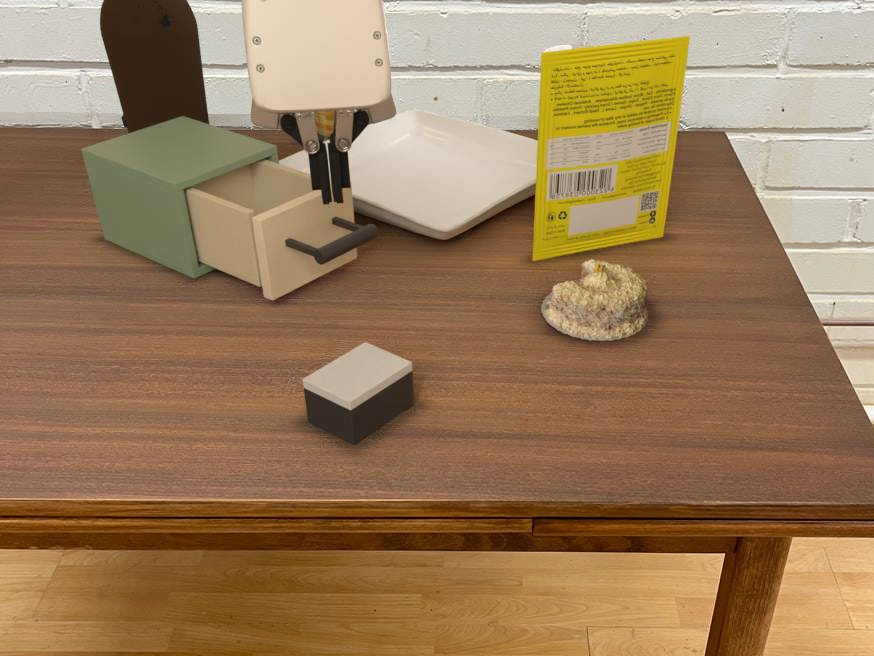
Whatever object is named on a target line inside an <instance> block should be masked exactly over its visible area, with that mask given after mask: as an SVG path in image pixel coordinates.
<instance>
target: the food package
mask: <svg viewBox="0 0 874 656" xmlns="http://www.w3.org/2000/svg"><path fill="white" fill-rule="evenodd" d="M690 40H691V37H690V36H689V35H686V36H677V37H667V38H659V39H649V40H648V39H647V40H639V41H630V42H622V43H614V44H613V43H612V44H604V45H595V46H594V47H586V48H577V49H568V50H560V51H552V52H544V51H543V52H541V55H540V79H539V81H540V82H539V99H538V100H539V104H538V123H537V125H538V127H537V141H538V146H537V169H536V192H535V195H534V196H535V197H534V219H533V220H534V221H533V239H532V240H533V241H532V257H531V258H532V262H537V261H542V260H547V259H552V258H557V257H562V256H569V255H574V254H578V253H579V254H580V253H583V252H589V251H595V250H601V249H606V248H610V247H611V248H613V247H617V246H622V245H627V244H633V243H639V242H643V241H649V240H655V239H660V238H664V233H665V226H666V220H667V211H668V205H669V197H670V190H671V182H672V174H673V167H674V160H675V152H676V146H677V137H678V132H679V131H678V130H679V123H680V115H681V108H682V100H683V91H684V84H685V79H686V72H687V64H688V55H689V47H690V46H689V45H690Z"/></svg>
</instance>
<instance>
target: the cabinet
mask: <svg viewBox="0 0 874 656" xmlns="http://www.w3.org/2000/svg"><path fill="white" fill-rule="evenodd" d="M80 150H81V154H82V159H83V163H84V165H85V166H84V167H85V169H86V173H87V178H88V181H89V185H90V190H91V193H92V196H93V201H94V205H95V208H96V212H97V217H98V220H99V224H100V228H101V232H102V235H103V240H105V241H107V242H110V243H112V244H114V245H117V246H118V247H120V248H121V247H122V248H123V249H125V250H128V251H130V252H132V253H135V254H138V255H139V256H141V257H144V258H146V259H148V260H151V261H152V262H155V263H157V264H160V265H162V266H164V267H167V268H169V269H171V270H173V271H176V272H178V273H181V274H182V275H185V276H187V277H190V278H191V279H193V280H195V279H197V278H199V277H201V276H203V275H206V274H208V273H210V272H212V271H214V270H217V269H216V268H214V267H211V266H209V265H207V264H204V263H202V262H200V261H197V256H196V251H195V246H194V241H193V236H192V231H191V226H190V221H189V216H188V210H187V205H186V200H185V195H184V190H183V189H185V188H188V187H191V186H193V185H196V184H198V183H201V182H204V181H206V180H209V179H212V178H214V177H217V176H219V175H222V174H225V173H227V172H230V171H233V170H235V169H238V168H240V167H243V166H246V165H248V164H251V163H254V162H256V161H259V160H261V159H265V160H268V161H271V162H274V163H278V164H279V160H280V159H279V154H278V146H277V145H275V144H272V143H269V142H266V141H263V140H259V139H256V138H253V137H251V136H248V135H244V134H241V133H237V132H235V131H232V130H228V129H225V128H222V127H218V126H216V125H212V124H210V123H209V124H206V123H203V122H200V121H197V120H194V119H191V118H188V117H184V116H181V117H178V118H175V119H172V120H169V121H166V122H163V123H160V124H156V125H153V126H150V127H147V128H144V129H141V130H138V131H135V132H132V133H126V134H125V133H124V134H122V135H120V136H116V137H113V138H110V139H107V140H104V141H101V142H98V143H95V144H91V145H89V146H85V147H83V148H80Z"/></svg>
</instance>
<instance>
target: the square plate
mask: <svg viewBox="0 0 874 656" xmlns="http://www.w3.org/2000/svg"><path fill="white" fill-rule="evenodd" d="M323 143H325V144H326V149H327V155H328V165H329V154H328V144H327V143H330V139H329V140H327V141H324V142H323ZM537 146H538V139H534V138H531V137H527V136H524V135H520V134H516V133H514V132H511V131H507V130H503V129H499V128H495V127H492V126H489V125H485V124H480V123H478V122H473V121H469V120H464V119H460V118H456V117H452V116H447V115H444V114H443V115H442V114H438V113H433V112H430V111H426V110H422V109H417V108H416V109H409V110H406V111H403V112H400V113H396V115H395V116H394V117H393V118H391V119H388V120H384V121H381V122H378V123H375V124H370V125H368V126H367V127H366V128H365V129H364V130H363V131H362V133H361V134H360V135H359V136H358V137H357V138H356V139H355V141H354V142H353V143H352V145H351V148H350V150H348V160H349V172H350V182H351V186H352V198H353V210H354V213H357V214H360V215H363V216H366V217H369V218H371V219H374V220H376V221H381V222H383V223H386V224H388V225H392V226H394V227H397V228H400V229H403V230H406V231H408V232H411V233H414V234H419V235H422V236H427V237H429V238H432V239H436V240H441V241H447V240H450V239H452V238H454V237H456V236H458V235H461V234H463V233H465V232H466V231H468V230H471V229H472V228H474V227H476V226H477V225H479V224H481V223H483V222H485V221H487V220H489V219H490V218H492V217H494V216H496V215H498V214H499V213H501V212H503V211H505V210H507V209H508V208H511V207H512V206H515V205H516V204H518V203H520V202H522V201H524V200H527V199H528V198H531V197H533V196H535V192H536V169H537ZM279 164H281V165H284V166H287V167H290V168H293V169H296V170H299V171H302V172H305V173H308V174H310V166H309V157H308V153H307V152H306V151H305V149H303V150H300V151H298V152H296V153H294V154H291V155H289V156H286V157H284V158H282V159H279ZM329 175H330V165H329ZM330 184H331V175H330Z"/></svg>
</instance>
